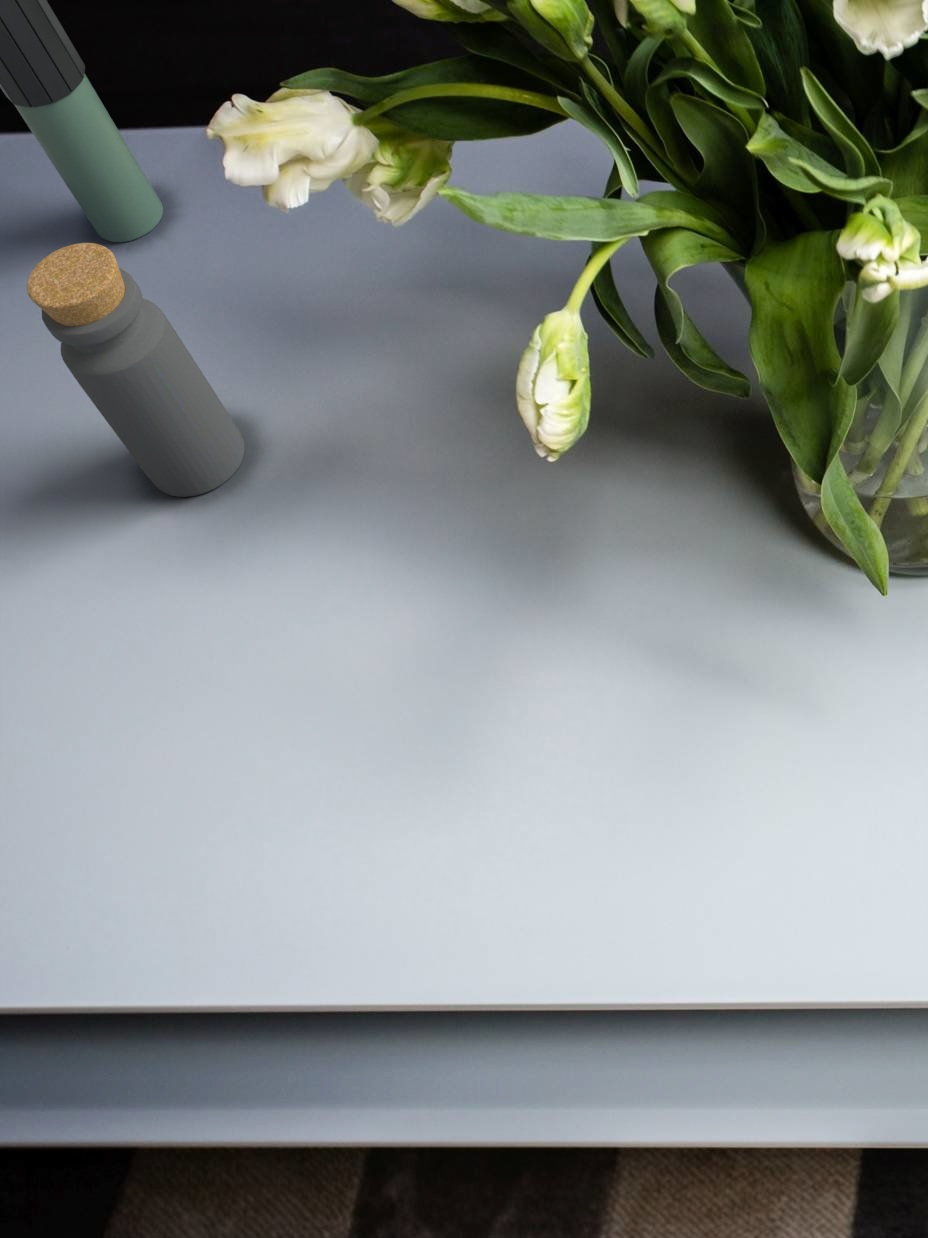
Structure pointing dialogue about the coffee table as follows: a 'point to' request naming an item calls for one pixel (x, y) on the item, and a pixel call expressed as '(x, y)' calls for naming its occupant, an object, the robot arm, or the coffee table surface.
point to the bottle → (136, 370)
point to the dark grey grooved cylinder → (36, 55)
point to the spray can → (96, 164)
